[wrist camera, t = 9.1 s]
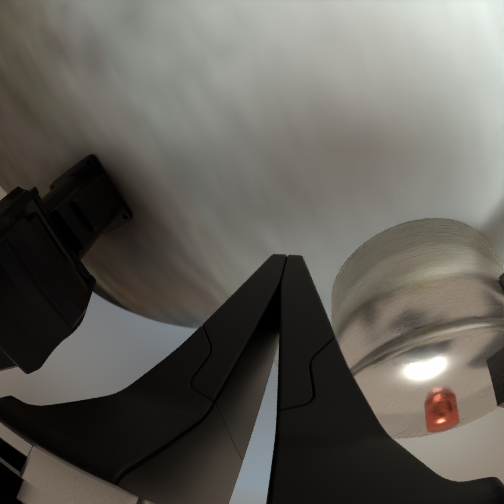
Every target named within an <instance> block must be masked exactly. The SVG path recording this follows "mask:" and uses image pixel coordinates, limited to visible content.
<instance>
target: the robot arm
mask: <svg viewBox="0 0 504 504" xmlns="http://www.w3.org/2000/svg"><path fill="white" fill-rule="evenodd" d="M89 160H90V161H91V163H90V162H89ZM54 187H55V188H54ZM50 190H51V191H50V192H49V193H47V194H46V195H45V196H44V197H43V198H42V199H41V198H40V196H39V194H38V193H39V192H38V190H37V188H36V186H35V187H33V188H32V189H30V190H29V191H28V190H24V189H22V188H20V187H16V188H15V189H14V190H12V191H11V192H10V193H9V194H7V196H5V197H4V198H3V199H2V200H0V371H3V370H6V369H11V368H15V367H19V368H20V369H21V370H22V371H23V372H24V373H26V374H29V373H32V372H34V371H36V370H38V369H40V368H41V367H42V365H43V364H44V362H45V361H46V359H47V358H48V356H49V355H50V354H51V353H52V351H53V350H54V349H55V348H56V347H57V346H58V345H59V344H60V343H61V342H62V341H63V340H64V339H66V338H67V337H68V336H70V335H71V334H72V333H73V332H74V331H75V330H76V329H77V327H78V326H79V325H80V324H81V322H82V320H83V318H84V316H85V313H86V309H87V306H88V303H89V300H90V297H91V294H92V291H93V288H94V286H95V283H96V279H95V278H94V277H93V275H91V274H90V273H89V272H88V270H87V269H86V267H85V266H84V265H83V263H82V262H81V259H82V258H83V257H84V255H85V254H86V253H87V252H88V250H89V249H90V248H91V247H92V245H93V244H94V243H95V242H96V240H97V239H98V238H99V237H100V236H101V234H103V233H105V232H108V231H110V230H112V229H114V228H116V227H118V226H120V225H122V224H125V223H127V222H129V221H130V220H131V218H132V213H131V211H130V210H129V208H128V207H127V205H126V204H125V202H124V201H123V199H122V198H121V196H120V195H119V193H118V192H117V190H116V189H115V187H114V186H113V184H112V183H111V181H110V180H109V178H108V177H107V175H106V174H105V172H104V171H103V169H102V168H101V166H100V164H99V163H98V161H97V160H96V158H95V157H94V156H93V155H88V156H87V157H85V158H84V159H83V160H81V161H80V162H79V163H77V164H76V165H75V166H73V167H72V168H71V169H69V170H68V171H67V172H66V173H64V174H63V175H62V176H60V177H59V178H58V179H57V180H55V181H54V182H53V183H52V184H51V185H50ZM125 215H127V216H128V217H127V216H125ZM278 343H279V364H278V392H277V394H278V395H277V417H276V433H275V442H274V451H273V458H272V465H271V473H270V480H269V488H268V495H267V502H266V504H504V484H503V483H502V482H501V481H500V480H499V479H498V478H497V477H488V478H481V479H476V480H471V481H464V482H457V481H451V480H448V479H445V478H443V477H441V476H439V475H438V474H436V473H435V472H434V471H432V470H431V469H430V468H429V467H427V466H426V465H425V464H424V463H422V462H421V461H420V460H418V459H417V458H416V457H415V456H413V455H412V454H411V453H410V452H409V451H407V450H406V449H405V448H404V447H402V446H401V445H400V444H398V443H397V442H396V441H395V440H394V439H393V438H392V437H391V436H390V435H389V434H388V433H387V432H386V431H385V429H384V428H383V427H382V425H381V424H380V422H379V420H378V419H377V417H376V415H375V414H374V412H373V410H372V408H371V407H370V405H369V403H368V401H367V399H366V398H365V396H364V394H363V392H362V391H361V389H360V387H359V385H358V384H357V382H356V380H355V378H354V376H353V374H352V372H351V370H350V369H349V367H348V365H347V362H346V360H345V358H344V356H343V353H342V351H341V349H340V346H339V343H338V341H337V339H336V336H335V334H334V331H333V329H332V326H331V324H330V321H329V319H328V316H327V314H326V311H325V309H324V306H323V304H322V302H321V299H320V297H319V294H318V292H317V289H316V287H315V285H314V282H313V280H312V277H311V275H310V273H309V270H308V268H307V266H306V263H305V261H304V259H303V257H302V256H301V255H288V257H287V255H285V254H273V255H271V256H270V257H269V258H268V259H267V260H266V261H265V262H264V263H263V264H262V265H261V266H260V267H259V269H258V270H257V271H256V272H255V273H254V274H253V275H252V276H251V277H250V278H249V279H248V280H247V281H246V282H245V283H244V284H243V285H242V286H241V287H240V288H239V289H238V290H237V291H236V292H235V293H234V294H233V295H232V296H231V297H230V298H229V299H228V300H227V301H226V302H225V303H224V304H223V305H222V306H221V307H220V308H219V309H218V310H217V311H216V312H215V313H214V314H213V315H212V316H211V317H210V318H209V319H208V320H207V321H206V322H205V323H204V324H203V327H202V326H201V327H199V328H198V329H197V330H196V331H195V332H194V333H193V334H192V335H191V336H190V337H189V338H188V339H187V340H186V341H185V342H184V343H183V344H182V345H181V346H180V347H178V348H177V349H176V350H175V351H173V352H172V353H171V354H170V355H169V356H167V357H166V358H165V359H164V360H162V361H161V362H160V363H159V364H157V365H156V366H155V367H153V368H152V369H151V370H150V371H148V372H147V373H146V374H144V375H143V376H142V377H140V378H139V379H138V380H136V381H135V382H134V383H132V384H131V385H130V386H128V387H127V388H125V389H123V390H121V391H119V392H117V393H115V394H112V395H108V396H103V397H98V398H92V399H86V400H80V401H74V402H68V403H61V404H54V405H44V406H38V405H30V404H26V403H24V402H22V401H20V400H19V399H16V398H15V397H13V396H6V397H2V398H0V423H2V424H3V425H4V426H6V427H7V428H8V429H10V430H11V431H12V432H14V433H15V434H17V435H18V436H19V437H21V438H22V439H24V440H25V441H26V442H28V443H29V444H31V445H32V448H31V450H30V452H29V454H28V456H26V455H25V454H23V453H22V452H20V451H19V450H17V449H16V448H15V447H13V446H12V445H10V444H9V443H8V442H6V441H5V440H3V439H2V438H0V504H229V501H230V498H231V495H232V493H233V490H234V487H235V484H236V481H237V478H238V475H239V472H240V469H241V466H242V463H243V460H244V457H245V454H246V450H247V447H248V444H249V441H250V438H251V435H252V432H253V428H254V425H255V422H256V419H257V415H258V412H259V409H260V405H261V402H262V399H263V395H264V392H265V388H266V385H267V382H268V378H269V375H270V371H271V368H272V364H273V361H274V357H275V354H276V350H277V347H278Z"/></svg>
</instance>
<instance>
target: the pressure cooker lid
mask: <svg viewBox="0 0 504 504" xmlns="http://www.w3.org/2000/svg"><path fill="white" fill-rule="evenodd" d="M350 370H351V372H352V374H353V376H354V378H355V380H356V382H357V384H358V385H359V387H360V389H361V391H362V392H363V394H364V396H365V398H366V399H367V401H368V403H369V405H370V407H371V408H372V410H373V412H374V414H375V415H376V417H377V419H378V420H379V422H380V424H381V425H382V427H383V428H384V429H385V431H386V432H387V433H388V434H389V435H390V436H391V437H392V438H393V439H395V438H396V439H398V438H399V439H400V438H413V437H421V436H427V435H432V434H436V433H441V432H444V431H448V430H451V429H454V428H457V427H460V426H462V425H465V424H467V423H470V422H472V421H474V420H476V419H478V418H480V417H482V416H484V415H486V414H488V413H490V412H491V411H493V410H494V409H496V408H497V407H503V408H504V319H503V318H495V317H477V318H468V319H461V320H456V321H450V322H446V323H442V324H438V325H435V326H431V327H428V328H425V329H422V330H419V331H416V332H413V333H411V334H408V335H406V336H404V337H401V338H399V339H396V340H394V341H392V342H390V343H388V344H386V345H384V346H382V347H380V348H379V349H377V350H375V351H374V352H372V353H370V354H369V355H367V356H366V357H364V358H363V359H361V360H360V361H358V362H357V363H356V364H355V365H354V366H353V367H352V368H350Z"/></svg>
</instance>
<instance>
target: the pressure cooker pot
mask: <svg viewBox="0 0 504 504" xmlns="http://www.w3.org/2000/svg"><path fill="white" fill-rule="evenodd" d="M477 317H495V318H503V319H504V269H503V268H502V266H501V264H500V262H499V260H498V259H497V257H496V255H495V253H494V251H493V250H492V248H491V246H490V245H489V243H488V242H487V240H486V239H485V238H484V237H483V236H482V235H481V234H480V233H479V232H478V231H476V230H475V229H473V228H472V227H470V226H468V225H465V224H463V223H460V222H457V221H453V220H447V219H422V220H415V221H411V222H407V223H403V224H400V225H398V226H395V227H392V228H390V229H387V230H386V231H384V232H382V233H380V234H378V235H376V236H374V237H373V238H371V239H370V240H368V241H367V242H365V243H364V244H363V245H362V246H361V247H359V248H358V249H357V250H356V251H355V252H354V253H353V254H352V255H351V256H350V257H349V258H348V259H347V261H346V262H345V264H344V265H343V266H342V268H341V269H340V271H339V273H338V275H337V277H336V279H335V282H334V285H333V290H332V329H333V331H334V334H335V336H336V339H337V341H338V343H339V346H340V349H341V351H342V353H343V356H344V358H345V360H346V362H347V365H348V367H349V369H350V368H352V367H353V366H354V365H355V364H356V363H357V362H358V361H360V360H361V359H363V358H364V357H366V356H367V355H369V354H370V353H372V352H374V351H375V350H377V349H379V348H380V347H382V346H384V345H386V344H388V343H390V342H392V341H394V340H396V339H399V338H401V337H404V336H406V335H408V334H411V333H413V332H416V331H419V330H422V329H425V328H428V327H431V326H435V325H438V324H442V323H446V322H450V321H456V320H461V319H468V318H477Z"/></svg>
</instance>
